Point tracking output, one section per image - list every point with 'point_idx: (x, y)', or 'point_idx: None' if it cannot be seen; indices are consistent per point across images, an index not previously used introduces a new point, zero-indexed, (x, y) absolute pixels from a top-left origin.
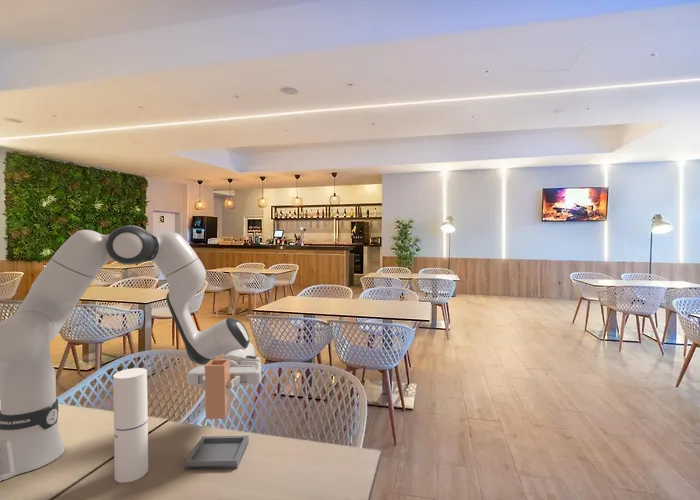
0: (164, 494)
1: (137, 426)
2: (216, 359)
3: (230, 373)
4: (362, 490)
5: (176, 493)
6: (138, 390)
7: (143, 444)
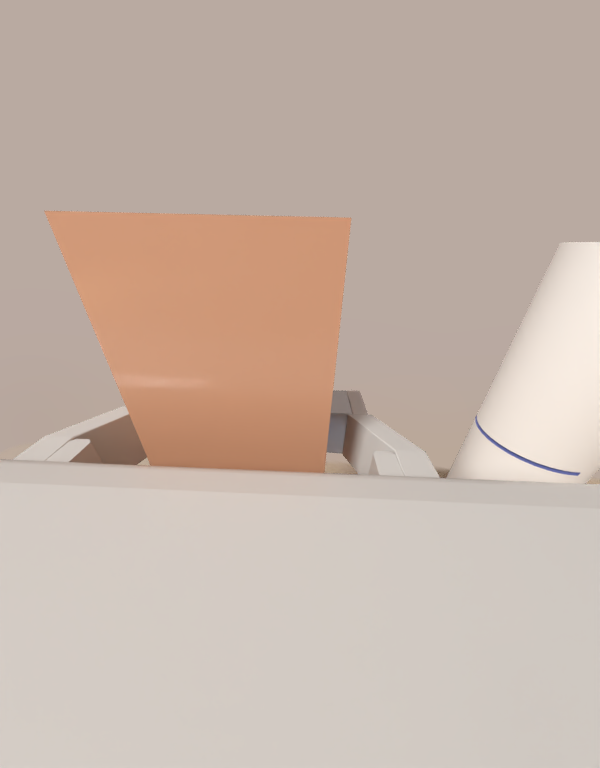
0: (344, 463)
1: (477, 413)
2: (265, 216)
3: (105, 465)
4: (14, 449)
5: (325, 463)
6: (529, 307)
7: (455, 467)
